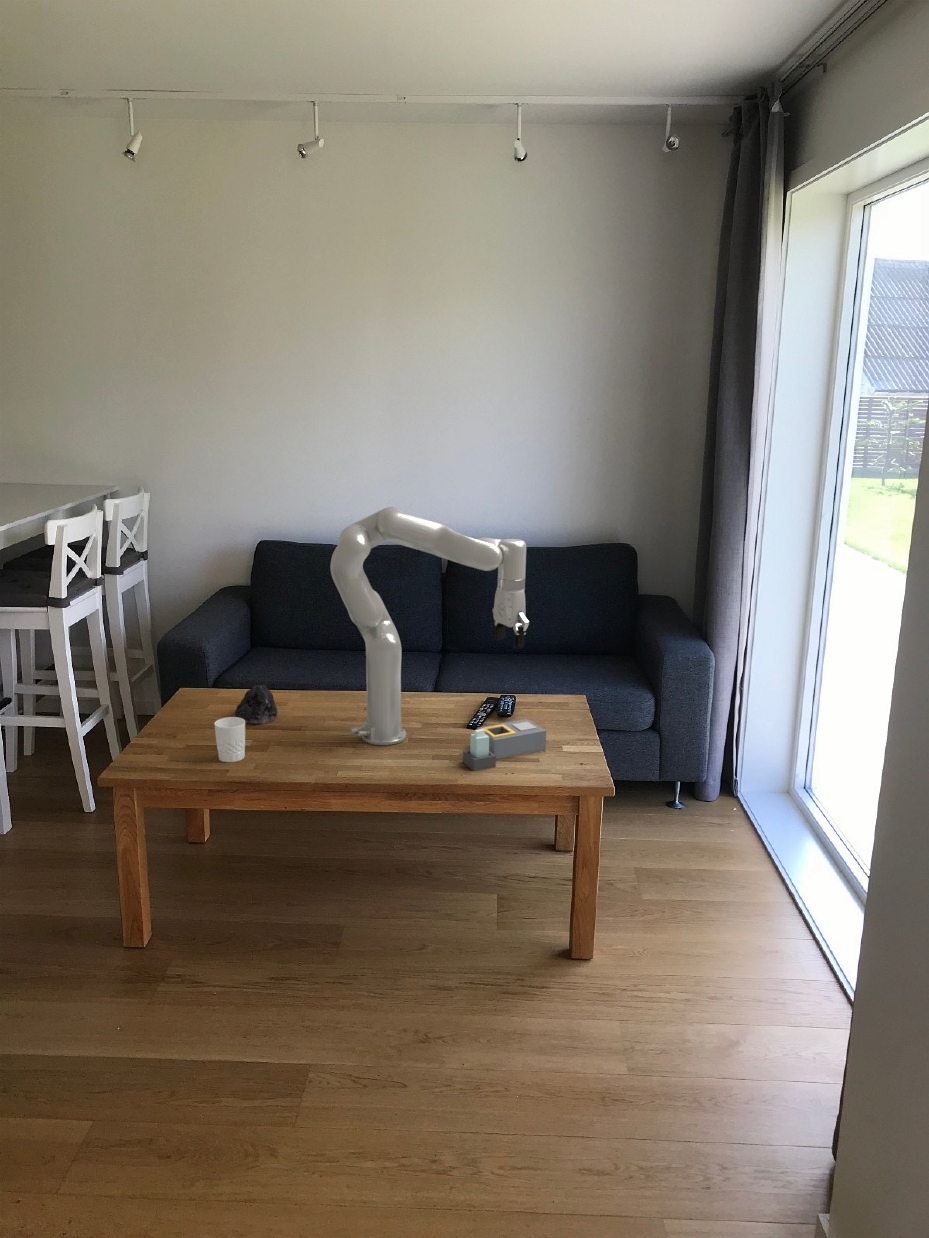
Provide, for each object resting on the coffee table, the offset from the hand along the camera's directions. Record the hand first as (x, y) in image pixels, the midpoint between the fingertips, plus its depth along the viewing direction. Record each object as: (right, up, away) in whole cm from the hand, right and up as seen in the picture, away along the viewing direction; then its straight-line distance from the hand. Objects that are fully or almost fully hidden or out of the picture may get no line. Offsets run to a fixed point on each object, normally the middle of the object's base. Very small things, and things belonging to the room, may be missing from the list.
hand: (509, 643), depth 259 cm
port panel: (0, -29, -6) cm, 29 cm away
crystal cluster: (-74, -23, +16) cm, 79 cm away
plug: (-9, -31, -17) cm, 36 cm away
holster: (-9, -32, -17) cm, 37 cm away
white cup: (-74, -30, -13) cm, 81 cm away
